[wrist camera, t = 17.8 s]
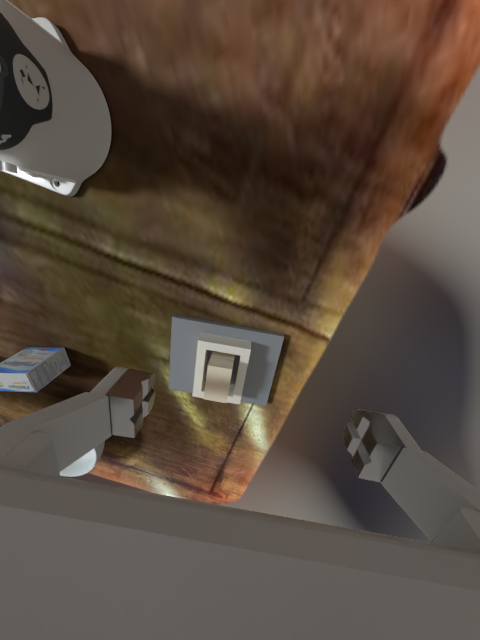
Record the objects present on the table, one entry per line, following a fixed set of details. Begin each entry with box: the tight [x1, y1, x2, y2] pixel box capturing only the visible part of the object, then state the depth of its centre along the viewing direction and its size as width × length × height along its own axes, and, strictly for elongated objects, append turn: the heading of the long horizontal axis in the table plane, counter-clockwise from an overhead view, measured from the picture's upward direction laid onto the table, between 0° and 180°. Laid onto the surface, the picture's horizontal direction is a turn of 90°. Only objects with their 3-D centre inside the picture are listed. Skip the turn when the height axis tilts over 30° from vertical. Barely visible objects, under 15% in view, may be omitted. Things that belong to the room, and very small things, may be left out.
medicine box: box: [0, 347, 71, 392], centre depth 44 cm, size 8×4×9 cm, turn 91°
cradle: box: [169, 315, 284, 406], centre depth 44 cm, size 20×16×4 cm
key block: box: [204, 351, 235, 403], centre depth 42 cm, size 7×4×6 cm, turn 171°
